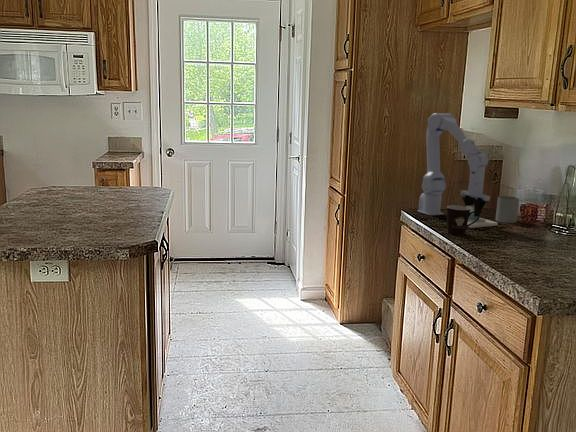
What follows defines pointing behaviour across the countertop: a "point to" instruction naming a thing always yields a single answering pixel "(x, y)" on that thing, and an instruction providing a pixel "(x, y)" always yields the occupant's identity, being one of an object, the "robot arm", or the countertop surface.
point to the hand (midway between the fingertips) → (472, 215)
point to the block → (472, 213)
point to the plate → (481, 223)
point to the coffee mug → (458, 219)
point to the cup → (507, 209)
